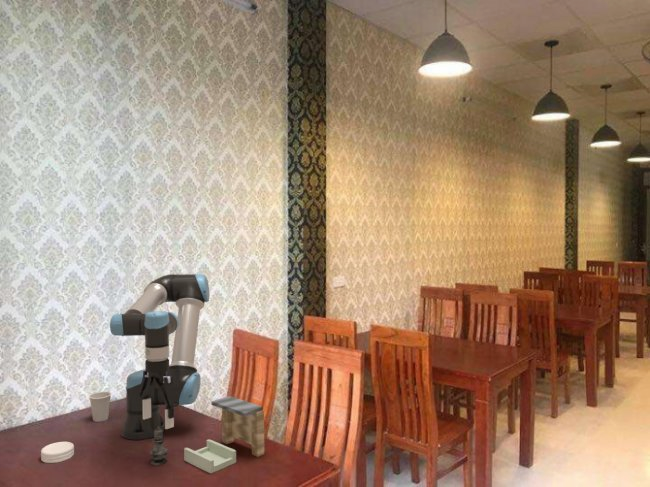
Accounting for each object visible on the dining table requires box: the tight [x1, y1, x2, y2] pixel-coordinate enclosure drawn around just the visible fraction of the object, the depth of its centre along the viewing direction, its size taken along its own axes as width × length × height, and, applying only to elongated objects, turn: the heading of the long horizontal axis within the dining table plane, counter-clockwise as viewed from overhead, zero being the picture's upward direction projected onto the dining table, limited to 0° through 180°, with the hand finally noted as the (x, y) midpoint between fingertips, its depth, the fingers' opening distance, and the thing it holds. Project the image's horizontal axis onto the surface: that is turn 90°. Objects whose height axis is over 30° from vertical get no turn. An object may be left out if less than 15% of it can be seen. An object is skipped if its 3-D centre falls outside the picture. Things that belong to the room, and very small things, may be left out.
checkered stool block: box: [211, 395, 265, 457], centre depth 180 cm, size 19×8×16 cm, turn 49°
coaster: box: [40, 441, 75, 464], centre depth 176 cm, size 10×10×4 cm
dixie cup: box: [88, 391, 112, 423], centre depth 210 cm, size 8×8×10 cm
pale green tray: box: [183, 438, 237, 475], centre depth 171 cm, size 14×10×4 cm
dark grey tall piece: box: [149, 426, 169, 466], centre depth 171 cm, size 6×6×12 cm
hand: (158, 423), depth 171 cm, fingers open, 13 cm apart
